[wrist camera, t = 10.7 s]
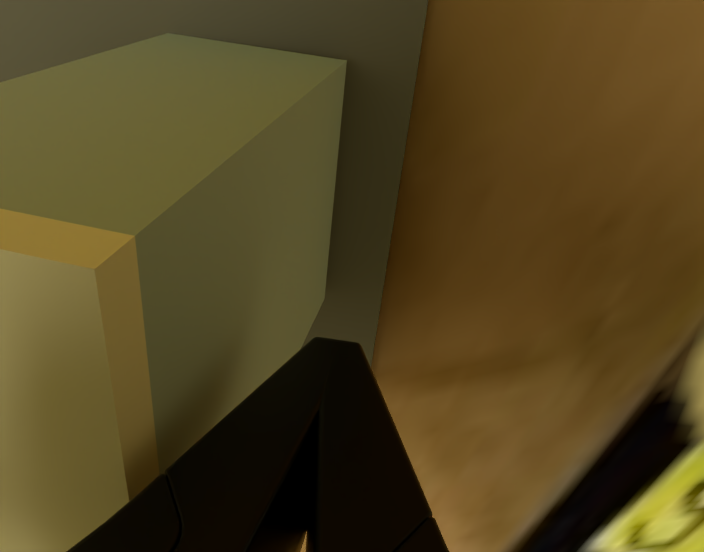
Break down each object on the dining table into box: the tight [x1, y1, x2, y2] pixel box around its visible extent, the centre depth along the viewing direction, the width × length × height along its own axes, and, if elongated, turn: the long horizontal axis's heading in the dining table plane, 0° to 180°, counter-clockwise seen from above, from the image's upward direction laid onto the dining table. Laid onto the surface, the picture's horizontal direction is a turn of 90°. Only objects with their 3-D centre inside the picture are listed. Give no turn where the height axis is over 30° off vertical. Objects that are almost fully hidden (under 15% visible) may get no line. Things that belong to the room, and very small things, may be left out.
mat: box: [0, 0, 428, 367], centre depth 15 cm, size 16×13×1 cm
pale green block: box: [0, 33, 347, 552], centre depth 10 cm, size 4×6×9 cm, turn 174°
